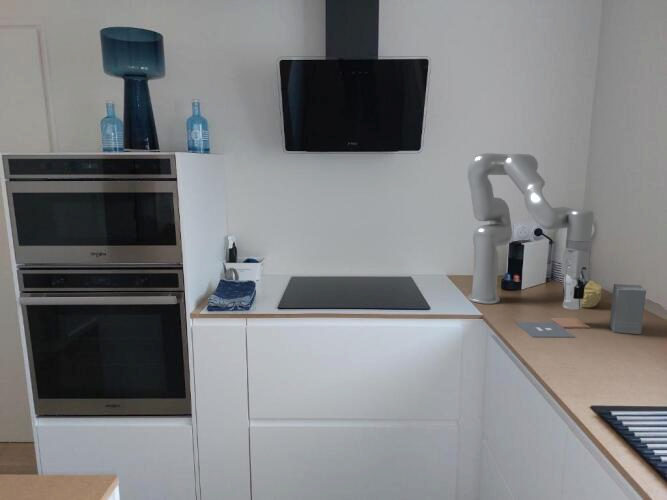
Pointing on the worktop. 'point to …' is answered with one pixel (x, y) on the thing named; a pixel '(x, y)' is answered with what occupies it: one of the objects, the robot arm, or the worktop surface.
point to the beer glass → (570, 291)
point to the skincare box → (627, 308)
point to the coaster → (569, 323)
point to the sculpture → (591, 295)
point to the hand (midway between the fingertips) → (572, 295)
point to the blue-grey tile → (544, 329)
